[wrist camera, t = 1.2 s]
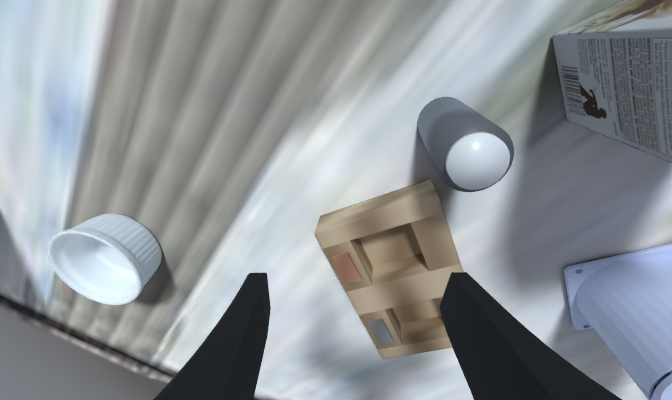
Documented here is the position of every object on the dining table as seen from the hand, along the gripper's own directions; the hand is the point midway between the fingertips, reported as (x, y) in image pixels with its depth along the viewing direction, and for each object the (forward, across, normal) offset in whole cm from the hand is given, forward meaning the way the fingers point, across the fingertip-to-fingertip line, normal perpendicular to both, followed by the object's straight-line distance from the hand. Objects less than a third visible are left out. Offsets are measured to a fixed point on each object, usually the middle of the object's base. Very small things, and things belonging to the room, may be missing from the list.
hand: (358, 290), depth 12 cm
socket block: (+12, -7, +11) cm, 18 cm away
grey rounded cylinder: (+13, -8, -3) cm, 15 cm away
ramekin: (+17, +22, +12) cm, 30 cm away
